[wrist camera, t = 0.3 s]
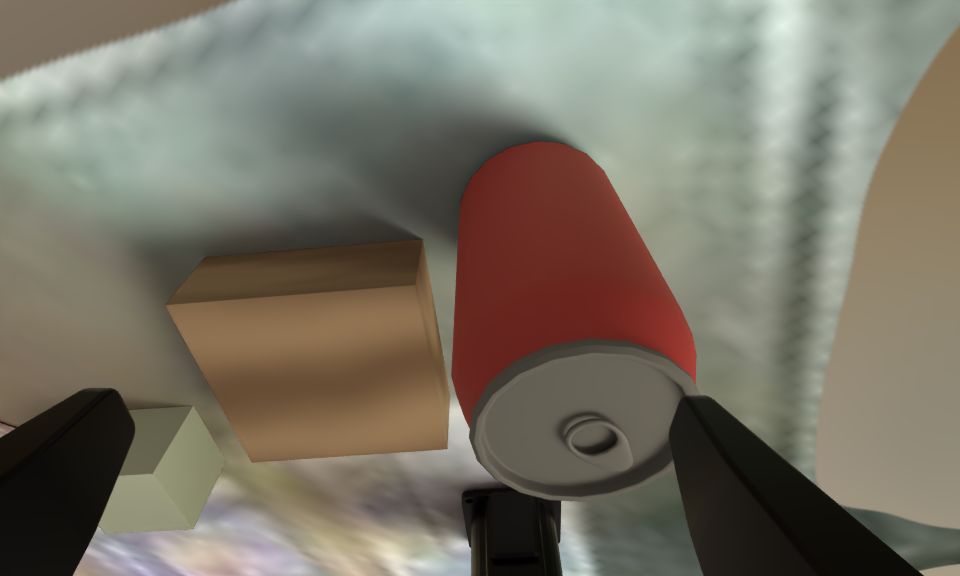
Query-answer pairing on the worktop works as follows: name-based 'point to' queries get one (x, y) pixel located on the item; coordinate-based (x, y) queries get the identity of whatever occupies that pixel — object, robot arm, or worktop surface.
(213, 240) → the worktop surface
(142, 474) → the sage block
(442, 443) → the walnut block
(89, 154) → the worktop surface
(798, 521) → the robot arm
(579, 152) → the beer can
